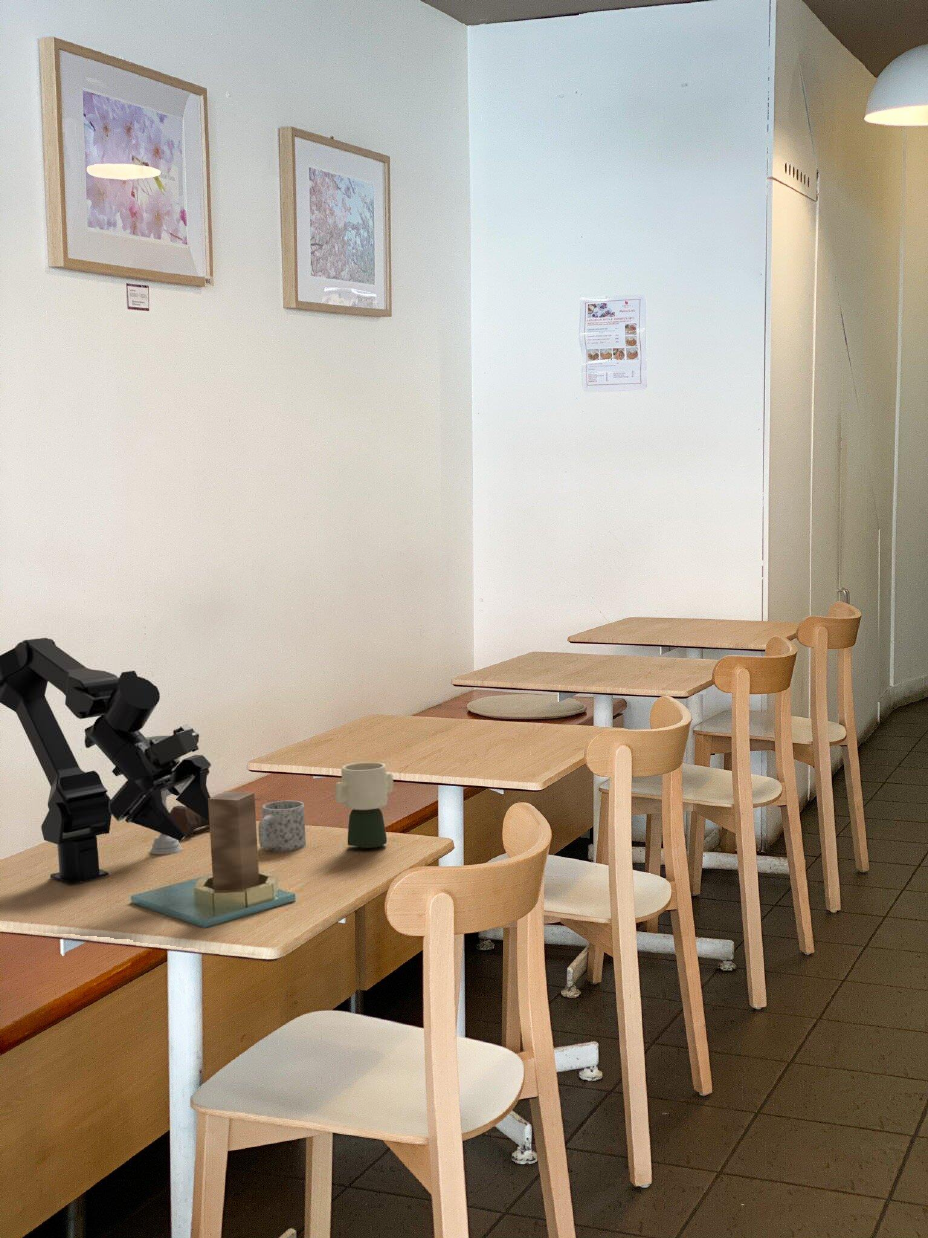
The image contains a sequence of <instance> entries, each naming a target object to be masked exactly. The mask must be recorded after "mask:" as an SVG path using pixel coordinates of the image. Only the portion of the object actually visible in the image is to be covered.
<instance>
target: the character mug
mask: <svg viewBox="0 0 928 1238" xmlns="http://www.w3.org/2000/svg"><path fill="white" fill-rule="evenodd" d="M340 769H341V771H340V772H341V781H338V782H336V783H335V785H334V792H335V793H334V794H335V801H336V803H337V804H342V803H343V805H344V807H346V808H347V809H349V810H350V809H351V811H350V814H349V816H348V817H349V818H348V828H347V846H350V847H351V846H352V847H357V848H358V850H361V849H363V848H364V849H365V848H366V849H367V848H379V847H382V846H384V845H386V844H387V842H388V838H387V831H386V825H385V822H384V815H383V812H382V809H380V808H383V807H385V806H386V805H387V804H388V794H389V793H391V792H393V791H394V776H393V774H392V772H389V771H388V772H387V766H386V763H382V762H377V761H376V762H374V761H363V762H362V761H361V762H360V761H359V762H353V763H348V764H344V765H343V766H341V768H340Z"/></svg>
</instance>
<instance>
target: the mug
mask: <svg viewBox="0 0 928 1238" xmlns="http://www.w3.org/2000/svg"><path fill="white" fill-rule="evenodd" d="M261 810H262V814H261V815H262V819H260V821H259V822H258V841H259V842H258V843H259V847H260V848H261V849H263V850H266V851H271V852H291V851H295V850H299V849H302V848H305V847H306V845H307V839H306V838H307V837H306V821H305V820H306V819H305V815H306V814H305V803H304V802H303V801H300V800H299V801H298V800H279V801H272V802H268V803H265V804H263V805H262V806H261Z"/></svg>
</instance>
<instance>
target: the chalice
mask: <svg viewBox="0 0 928 1238" xmlns="http://www.w3.org/2000/svg"><path fill="white" fill-rule="evenodd" d="M170 736H171V735H154V736H147V737H146V736H145V738H146V739H147V740H148V739H151V738H156V739H158V740H159V741H162V740H164V739H166V738H168V737H170ZM180 758H181V757H179V758H177V759H178V760H179V761H180V762H181V759H180ZM180 762H179V763H178V764H177V766H178V765H179V764H180ZM177 766H176V767H177ZM176 767H174V768H173V769H172V771H174V769H175V768H176ZM164 783H165V782H164ZM161 795H162V803H163V805H164V806H165V807H166V809H167V810H168V811H169V807H168V805H167V797H169V796H172V794H171V793H170V792H169V791H168V790H165V791H162V792H161ZM159 834H160V835H157V836H156V837H155V838H154V839H153V843H152V845H151V849H150V851H149V852H150V853H151V854H153V855H158V856H159V855H170V854H175V853H179V852H181V851H182V850H183V847H182V845H180V842H179V840H176V839H174V838H171V837H169V836H167V835H164V834H162V833H159Z"/></svg>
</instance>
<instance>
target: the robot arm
mask: <svg viewBox="0 0 928 1238" xmlns="http://www.w3.org/2000/svg"><path fill="white" fill-rule="evenodd" d="M48 683H50V684H51V685H52V686H54V687H55V688H56V689H57V690H59V691H60V692H61V693H63V695H64V696H65V700H64V705H65V706H66V707H67V708H68V710H69V711H70V712H71V713H72V714H73V715H74V716H75V717H76V718H77V719H79V720H82V719H83V720H84V719H85V720H86V719H90V718H96V719H95V721H94V722H93V724H92V725H90V726H88V727H86V728H84V733H85V734H84V735H85V736H84V746H85V748H87V749H89V748H92V747H93V746H95V745H96V746H97V748H98V749H99V750H100V751H101V752H102V753H103V754H104V755H105V756H106V757H107V759H108V760H109V761H110V762H111V763H112V764H113V765H114V768H113V769H112V770H111V773H112V774H113V775H114V776H115V777H119V776H121V775H123V777H124V778H125V779H126V781H125V782H124V784H122V785H121V787H120V788H118V790H117V791H116V793H115V794H114V795H113V796H112V797H111V798H110V796H109V795H108V789H107V788H106V787H105V786H104V784H103V782H102V780H101V777H100V774H99V773H98V772H97V771H96V770H91V771H84V770H82V769H81V767H80V765H79V763H78V761H77V759H76V757H75V756H74V753H73V751H72V749H71V747H70V745H69V742H68V740H67V738H66V736H65V734H64V733H63V730H62V728H61V725H60V724H59V722H58V720H57V718H56V716H55V714H54V711H53V710H52V708H51V705H50V704H49V701H48V700H47V697H46V691H47V688H48ZM160 695H161V694H160V690H159V689H158V686H156V685H155V684H154V683H153V682H151V681H150V680H149V679H147V678H144V677H141V676H139V675H138V674H137V672H136V670H129V671H122V672H121V673H120V675H119V676H117V675H116V674H114V673H111V672H108V671H105V670H102V669H101V670H98V669H92V668H89V667H86V666H85V665H84V664H82V663H81V662H79V661H78V660H76V659H75V658H74V657H73V656H70V654H68V653H67V652H65V650H63V649H61V647H58V646H57V644H56V642H55V641H54V640H53V639H51V638H47V637H41V638H31V639H24V640H21V641H20V642H18V643H17V644H16V645H15V647H14V648H12V649H10V650H8V651H6V652H4V653H2V654H0V704H1V705H4V706H5V707H6V708H9V709H10V710H12V711H13V712H15V713H16V715H17V718H18V720H19V722H20V724H21V726H22V728H23V730H24V732H25V735H26V736H27V738H28V740H29V743H30V745H31V747H32V749H33V751H34V754H35V755H36V758H37V760H38V762H39V764H40V767H41V768H42V770H43V773H44V775H45V777H46V779H47V781H48V783H49V786H50V791H49V796H48V800H47V807H48V812H47V814H46V816H45V817H44V820H43V821H42V824H41V826H40V829H41V832H42V837H43V840H44V841H45V842H49V843H51V844H55V845H57V859H58V872H54V873H51V874H50V875H49V876H50V879H52V880H56V881H58V882H62V883H65V884H68V885H75V884H79V883H83V882H87V881H91V880H95V879H100V878H103V877H107V876H109V875H110V872H109V871H107V870H104V869H100V861H99V860H100V859H99V858H100V857H99V847H98V838H97V837H98V836H100V835H107V834H110V830H111V824H112V822H111V821H112V817H114V819H115V820H116V821H117V822H120V821H122V820H124V821H125V822H126V823H129V824H130V823H132V824H135V825H138V826H141V827H144V828H147V829H149V830H152V831H155V832H157V833H159V834H160V833H162V834H164V835H167V836H169V837H171V838H174V839H176V840H178V842H179V841H180V842H181V841H183V839H184V837H185V834H184V832H183V830H182V829H181V827H180V826H179V825H178V823H177V822H176V821H175V819H174V818H173V817H172V815H171V814H170V811H169V809H168V810H167V809H166V807H165V806H164V805H163V803H162V795H161V792H162V791H165V790H168V791H169V792H170V793H171V795H173V796H176V798H175V800H176V801H177V802H178V803H180V804H182V806H185V807H187V808H189V809H191V810H192V811H194V812H195V813H197V814H198V815H200V816H201V817H203V818H204V819H206V820H207V821H209V807H208V799H209V798H211V797H212V796H211V795H210V792H209V789H208V787H207V781H208V780H207V778H208V776H209V774H210V768H211V766H212V764H211V762H210V761H209V760H208V759H207V758H206V757H205V756H204V754H193V755H191V756H189V757H185V758H184V759H182V760H180V761H179V760H178V759H177V758H179V757H180V758H181V757H183V756H186V755H187V754H190V753H191V752H192V753H194V752H197V751H198V750H199V749H200V748H199V746H198V744H199V738H200V734H199V733H198V732H196V731H195V730H194V729H193V727H191V726H189V724H184V725H182V726H179V727H178V728H176V729H175V728H174V729H173V731H172V735H169V736H170V737H168V738H166V739H164V740H162V741H159V740H158V739H156V738H151V739H148V740H147V739H146V736H145V735H144V734H143V733H142V732H141V730H142V729H143V728H144V727H145V725H146V723H147V722H148V720H149V718H150V717H151V715H152V713H153V711H154V710H155V709H156V707H157V705H158V703H159V702H160V699H161V696H160ZM179 762H180V764H179V765H178V766H177V764H178V763H179ZM176 766H177V767H176ZM174 767H176V768H175V769H174V771H172V769H173V768H174ZM164 782H165V783H164Z"/></svg>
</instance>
